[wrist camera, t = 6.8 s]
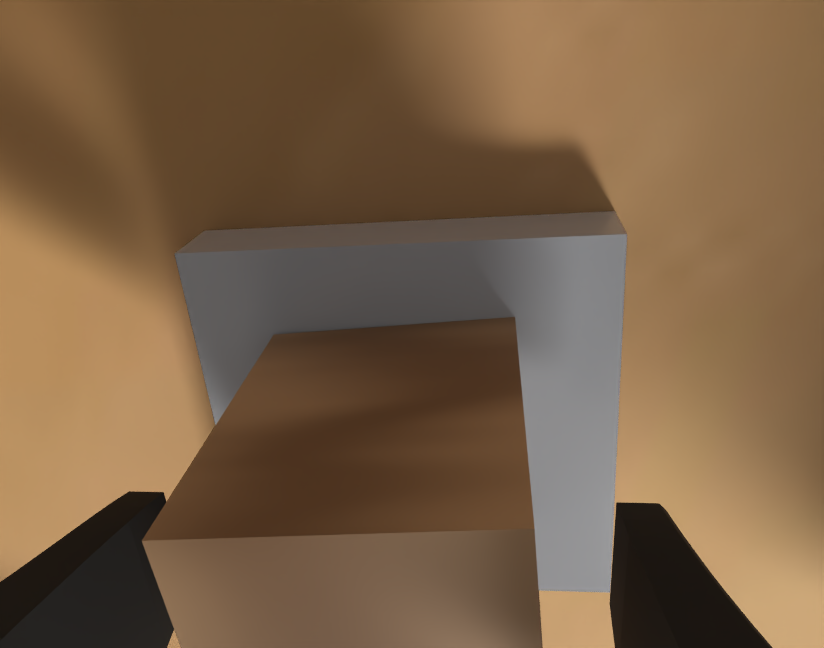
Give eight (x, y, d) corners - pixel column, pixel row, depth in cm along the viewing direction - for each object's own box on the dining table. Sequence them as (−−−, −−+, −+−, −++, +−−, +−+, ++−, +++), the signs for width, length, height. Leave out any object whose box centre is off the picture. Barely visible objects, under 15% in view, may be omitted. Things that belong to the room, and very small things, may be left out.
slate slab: (610, 202, 13) (626, 234, 11) (598, 528, 17) (609, 592, 15) (215, 222, 14) (174, 253, 13) (278, 523, 18) (253, 581, 16)
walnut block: (514, 316, 12) (534, 528, 7) (528, 515, 14) (552, 792, 9) (273, 334, 13) (142, 540, 8) (316, 522, 15) (231, 785, 10)
